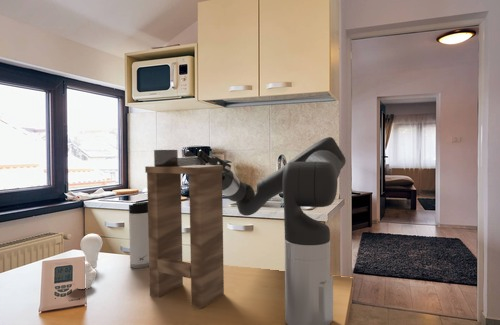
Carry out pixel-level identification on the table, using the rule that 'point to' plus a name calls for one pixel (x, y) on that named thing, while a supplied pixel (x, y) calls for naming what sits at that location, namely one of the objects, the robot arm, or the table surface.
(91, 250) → the lightbulb
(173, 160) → the steel link
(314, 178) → the robot arm
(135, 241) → the travel mug
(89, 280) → the white ridged dome
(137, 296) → the table surface
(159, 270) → the shelf
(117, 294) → the table surface
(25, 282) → the table surface
